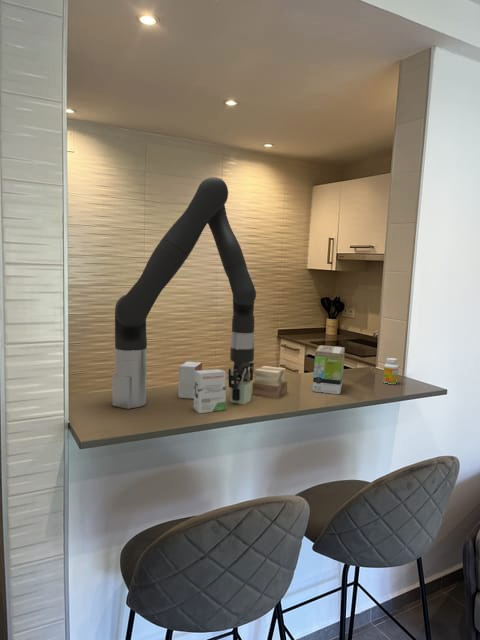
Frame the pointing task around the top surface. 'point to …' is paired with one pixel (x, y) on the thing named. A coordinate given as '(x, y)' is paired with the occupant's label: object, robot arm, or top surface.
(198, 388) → the ink box
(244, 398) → the sage block
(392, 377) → the supplement bottle
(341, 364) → the tea box
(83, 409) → the top surface
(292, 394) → the top surface
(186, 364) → the small box
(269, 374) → the maple block
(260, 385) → the walnut block
